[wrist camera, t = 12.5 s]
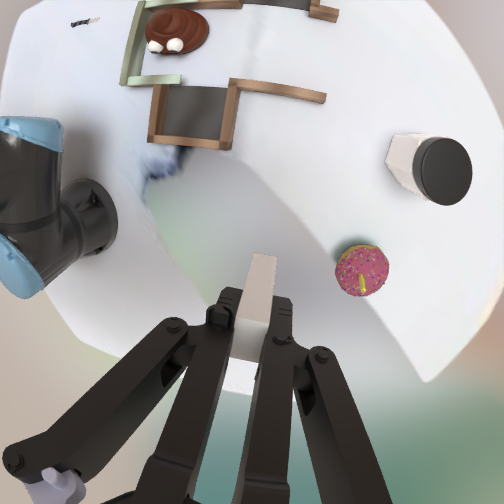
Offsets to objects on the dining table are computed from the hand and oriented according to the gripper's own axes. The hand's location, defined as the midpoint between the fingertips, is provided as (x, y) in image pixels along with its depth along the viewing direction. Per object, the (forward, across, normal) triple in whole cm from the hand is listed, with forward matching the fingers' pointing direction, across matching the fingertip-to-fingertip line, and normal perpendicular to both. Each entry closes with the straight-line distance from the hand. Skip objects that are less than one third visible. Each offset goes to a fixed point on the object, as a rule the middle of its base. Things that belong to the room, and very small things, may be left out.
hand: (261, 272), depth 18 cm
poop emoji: (+25, +19, -23) cm, 39 cm away
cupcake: (+25, -15, +8) cm, 30 cm away
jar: (+25, -19, -10) cm, 33 cm away
